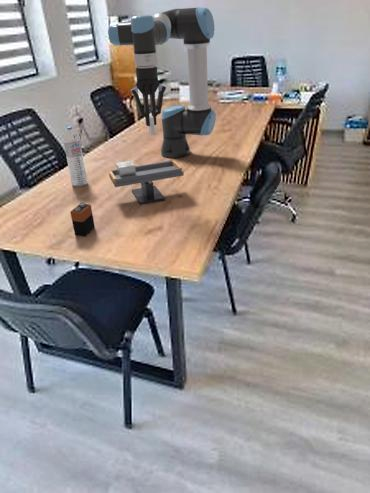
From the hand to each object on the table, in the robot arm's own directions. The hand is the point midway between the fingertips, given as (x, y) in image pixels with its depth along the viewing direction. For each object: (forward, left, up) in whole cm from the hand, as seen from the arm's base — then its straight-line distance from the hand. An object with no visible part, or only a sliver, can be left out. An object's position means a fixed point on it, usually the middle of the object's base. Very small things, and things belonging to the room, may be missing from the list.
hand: (152, 134), depth 152 cm
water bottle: (+28, -25, -24) cm, 45 cm away
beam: (+4, +1, -16) cm, 17 cm away
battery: (+32, +21, -24) cm, 46 cm away
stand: (+4, +1, -24) cm, 25 cm away
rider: (+12, +2, -14) cm, 19 cm away
